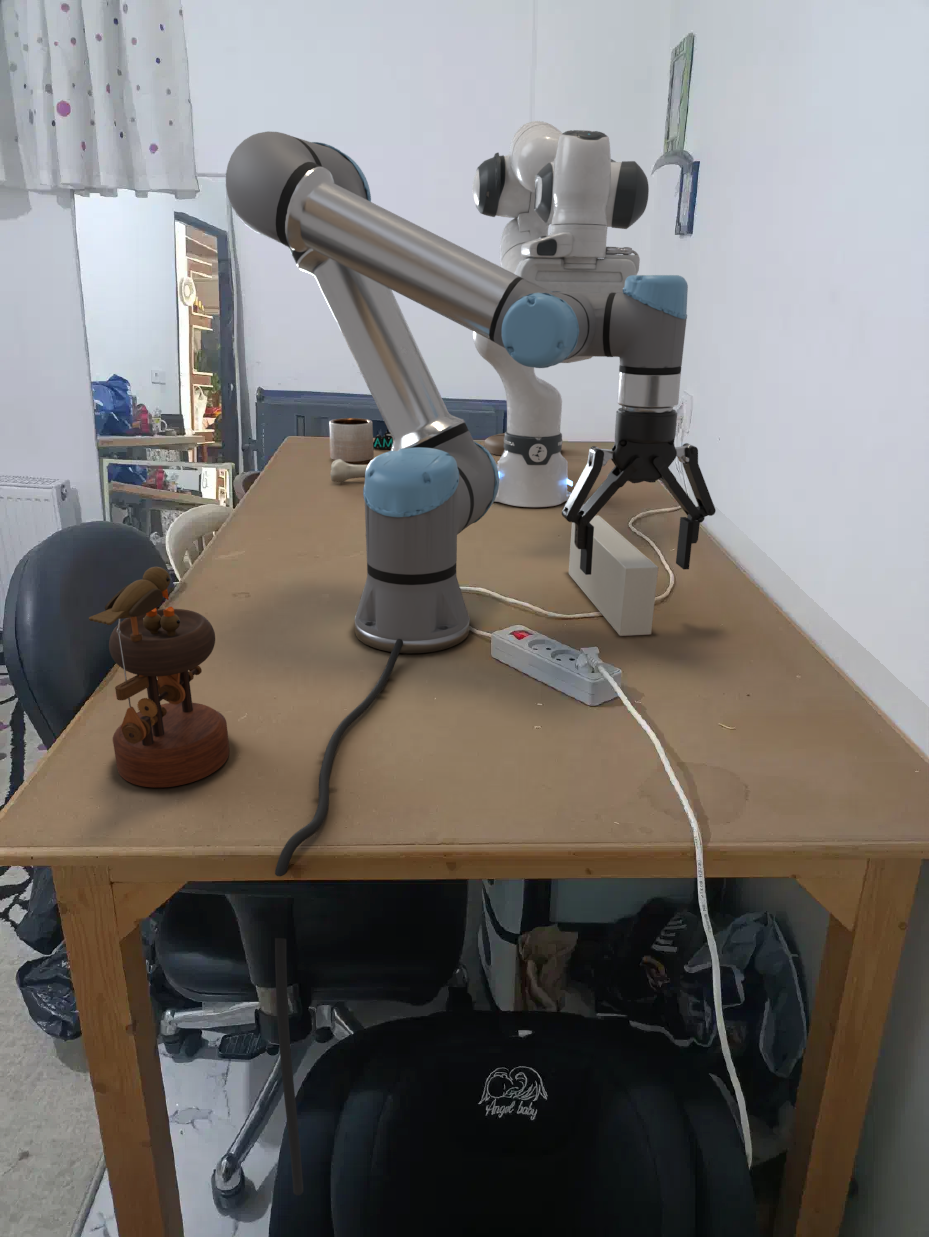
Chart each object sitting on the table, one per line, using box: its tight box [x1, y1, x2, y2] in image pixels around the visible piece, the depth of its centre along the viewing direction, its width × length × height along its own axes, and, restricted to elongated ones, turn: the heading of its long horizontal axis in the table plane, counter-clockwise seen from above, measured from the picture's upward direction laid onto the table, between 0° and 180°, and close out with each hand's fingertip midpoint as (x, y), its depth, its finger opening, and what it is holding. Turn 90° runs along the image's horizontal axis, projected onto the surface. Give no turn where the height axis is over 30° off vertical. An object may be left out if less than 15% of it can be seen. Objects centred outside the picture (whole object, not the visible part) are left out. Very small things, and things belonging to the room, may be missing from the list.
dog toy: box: [329, 459, 368, 483], centre depth 191 cm, size 20×6×5 cm, turn 99°
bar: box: [568, 515, 659, 637], centre depth 123 cm, size 25×4×10 cm, turn 9°
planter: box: [328, 417, 375, 464], centre depth 212 cm, size 11×11×10 cm
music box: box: [88, 566, 230, 788], centre depth 80 cm, size 15×11×20 cm
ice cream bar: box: [483, 432, 562, 457], centre depth 222 cm, size 21×28×4 cm
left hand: (634, 569), depth 114 cm, fingers open, 13 cm apart
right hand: (572, 337), depth 139 cm, fingers open, 8 cm apart
